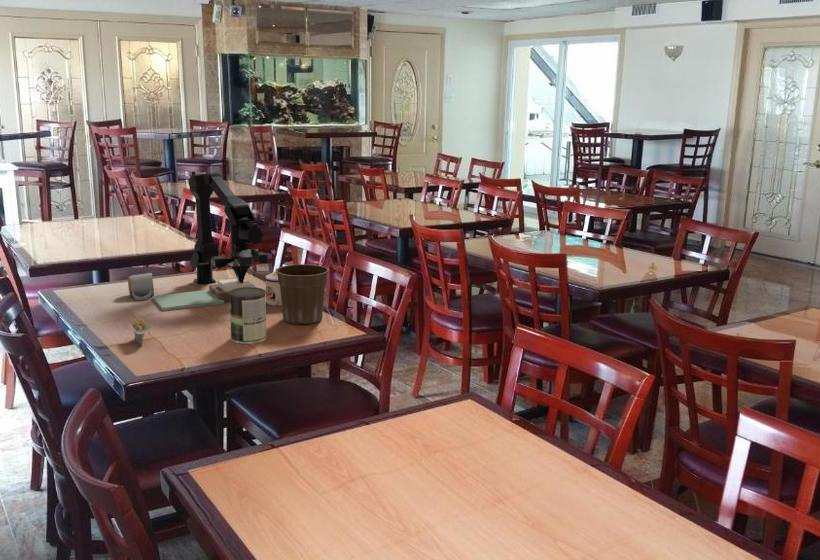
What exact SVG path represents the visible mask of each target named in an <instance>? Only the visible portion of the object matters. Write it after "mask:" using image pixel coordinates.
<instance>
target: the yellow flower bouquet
mask: <svg viewBox="0 0 820 560" xmlns="http://www.w3.org/2000/svg"><path fill="white" fill-rule="evenodd" d="M129 326H130V327H131V329H133V331H134V340H135V339H136V340H135V341H136V342H137V343H138V344H139V346H140V347H141V348H142V347H143V340H144V338H145V334H146V333H148V332H150V331H151V328H150V327H149V325H148V324H147V323H146V322H145V321H144V320H143V319H142V318H135V319H134V322H129Z"/></svg>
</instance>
